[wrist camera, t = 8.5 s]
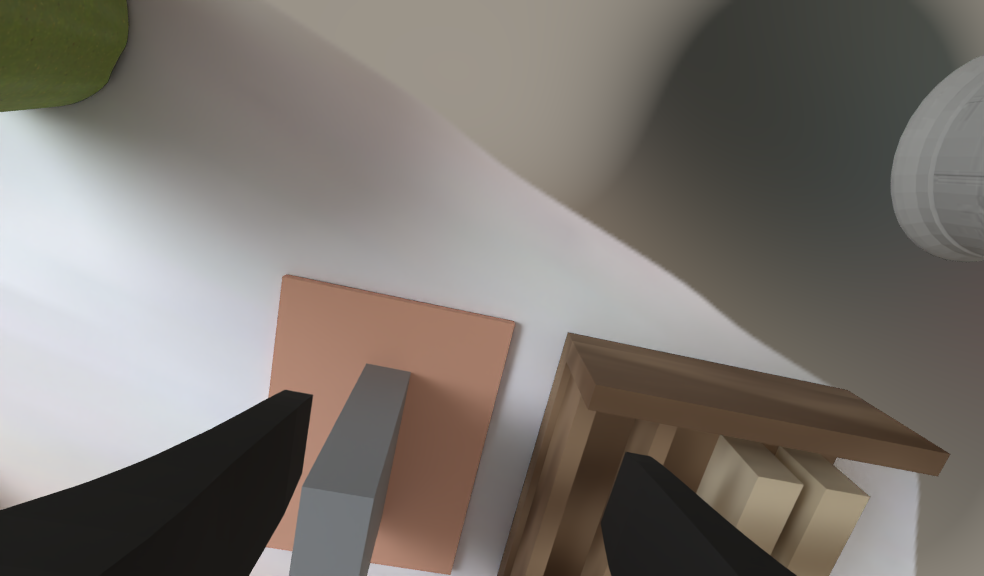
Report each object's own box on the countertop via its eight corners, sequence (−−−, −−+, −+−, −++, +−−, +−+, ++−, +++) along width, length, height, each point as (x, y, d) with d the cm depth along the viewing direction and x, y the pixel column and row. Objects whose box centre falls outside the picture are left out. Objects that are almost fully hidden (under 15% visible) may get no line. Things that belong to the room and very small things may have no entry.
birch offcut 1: (701, 575, 24) (733, 633, 21) (664, 569, 24) (691, 626, 21) (759, 441, 22) (803, 484, 19) (720, 433, 22) (758, 476, 19)
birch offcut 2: (755, 583, 24) (794, 641, 21) (720, 578, 24) (753, 636, 21) (818, 452, 22) (870, 496, 19) (779, 445, 22) (826, 488, 19)
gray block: (381, 517, 23) (334, 701, 15) (340, 511, 23) (272, 693, 15) (410, 371, 21) (373, 498, 13) (366, 363, 21) (302, 486, 13)
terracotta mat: (450, 568, 24) (450, 574, 24) (255, 538, 23) (251, 544, 23) (514, 321, 21) (515, 324, 20) (286, 274, 20) (282, 276, 19)
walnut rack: (741, 612, 26) (802, 716, 21) (497, 575, 25) (502, 677, 20) (847, 390, 22) (950, 454, 17) (567, 332, 21) (595, 384, 16)
